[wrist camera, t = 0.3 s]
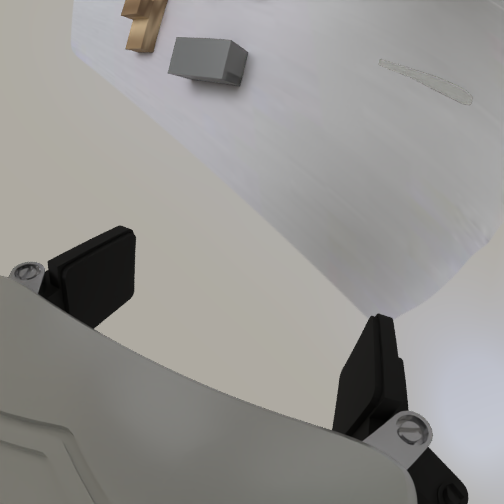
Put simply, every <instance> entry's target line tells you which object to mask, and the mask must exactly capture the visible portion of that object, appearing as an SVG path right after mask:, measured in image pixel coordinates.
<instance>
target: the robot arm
mask: <svg viewBox="0 0 504 504" xmlns="http://www.w3.org/2000/svg"><path fill="white" fill-rule="evenodd" d="M135 245H136V236H135V235H134V233H133V230H131V229H129V228H126V227H123V226H117V227H115V228H113V229H111V230H109V231H107V232H104V233H103V234H100V235H98V236H96V237H94V238H92V239H90V240H88V241H86V242H84V243H82V244H80V245H78V246H76V247H74V248H72V249H71V250H68V251H66V252H64V253H63V254H60V255H59V256H57V257H55V258H53V259H51V260H49V261H48V269H49V270H47V271H46V272H45V268H44V266H43V265H42V264H40V263H37V262H25V263H22V264H19V265H17V266H16V267H15V268H13V270H12V271H11V273H10V275H9V277H4V276H0V504H467V503H468V492H467V489H466V487H465V486H464V484H463V483H462V482H461V481H460V480H459V479H458V478H457V476H456V475H455V474H454V473H453V472H452V471H451V470H450V469H449V468H448V467H447V466H446V465H445V464H444V463H443V462H442V461H441V460H440V459H439V458H438V457H437V456H436V455H435V453H434V452H432V450H431V449H430V448H429V447H428V446H429V445H430V443H431V441H432V437H433V433H432V428H431V427H430V424H429V423H428V421H426V419H425V418H424V417H422V416H421V415H420V414H418V413H415V412H412V411H408V400H407V390H406V380H405V372H404V365H403V360H402V359H401V358H398V351H397V343H396V336H395V330H394V323H393V319H392V318H391V317H387V316H384V315H381V314H377V315H376V316H375V317H374V316H371V317H370V318H369V320H368V322H367V324H366V326H365V328H364V330H363V332H362V334H361V336H360V338H359V340H358V342H357V344H356V345H355V347H354V349H353V351H352V353H351V355H350V357H349V358H348V360H347V362H346V364H345V366H344V367H343V369H342V372H341V374H340V378H339V387H338V394H337V401H336V408H335V415H334V422H333V428H332V430H329V429H326V428H323V427H319V426H316V425H313V424H310V423H307V422H304V421H301V420H298V419H294V418H291V417H288V416H285V415H282V414H279V413H276V412H274V411H271V410H268V409H265V408H262V407H260V406H256V405H254V404H251V403H249V402H246V401H243V400H241V399H238V398H236V397H233V396H230V395H228V394H225V393H223V392H221V391H218V390H216V389H213V388H211V387H208V386H206V385H204V384H201V383H199V382H197V381H195V380H192V379H190V378H188V377H186V376H183V375H181V374H179V373H176V372H175V371H172V370H171V369H168V368H166V367H164V366H162V365H160V364H158V363H156V362H154V361H152V360H150V359H148V358H146V357H144V356H142V355H140V354H138V353H136V352H134V351H132V350H131V349H129V348H127V347H125V346H123V345H121V344H119V343H117V342H116V341H114V340H112V339H110V338H109V337H107V336H105V335H103V334H101V333H100V332H98V331H96V330H94V328H95V327H96V326H98V325H99V324H100V323H101V322H102V321H103V320H105V319H106V318H107V317H109V316H110V315H111V314H112V313H113V312H115V311H116V310H117V309H118V308H119V307H121V306H122V305H123V304H124V303H126V302H127V301H128V300H130V299H131V297H132V296H133V294H134V274H135Z"/></svg>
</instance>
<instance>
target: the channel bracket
mask: <svg viewBox="0 0 504 504" xmlns="http://www.w3.org/2000/svg"><path fill="white" fill-rule="evenodd" d="M247 55H248V52H247V51H246V50H244V49H243V48H242V47H240V46H239V45H237V44H236V43H235V42H233V41H232V40H224V39H210V38H187V37H177V38H176V42H175V46H174V49H173V54H172V58H171V62H170V66H169V70H168V74H172V75H176V76H180V77H184V78H187V79H191V80H200V81H208V82H216V83H223V84H229V85H236V86H240V83H241V79H242V75H243V71H244V67H245V63H246V59H247Z"/></svg>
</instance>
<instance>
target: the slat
mask: <svg viewBox="0 0 504 504" xmlns="http://www.w3.org/2000/svg"><path fill="white" fill-rule="evenodd" d="M167 1H168V0H126V1H125V4H124V7H123V10H122V13H121V16H124V17H127V18H130V19H132V20H133V23H132V26H131V30H130V33H129V37H128V41H127V45H126V49H128V50H132V51H135V52H153V51H154V47H155V43H156V39H157V35H158V32H159V28H160V25H161V21H162V18H163V14H164V11H165V8H166V4H167Z"/></svg>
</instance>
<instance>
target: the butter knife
mask: <svg viewBox="0 0 504 504" xmlns="http://www.w3.org/2000/svg"><path fill="white" fill-rule="evenodd" d="M378 65H380V66H382V67H384V68H387V69H389V70H392V71H395V72H397V73H400V74H402V75H405V76H407V77H410V78H412V79H414V80H416V81H418V82H420V83H422V84H424V85H426V86H428V87H430V88H431V89H433V90H435V91H438V92H440V93H442V94H443V95H445V96H447V97H449V98H451V99H453V100H456V101H458V102H460V103H462V104H465V105H471V103H472V100H473V98H472V96H471V95H470V94H469V93H468V92H467V91H466V90H464V89H462V88H461V87H459V86H457V85H455V84H453V83H450V82H448V81H446V80H443V79H441V78H438V77H436V76H433V75H430V74H427V73H424V72H420V71H417V70H414V69H411V68H408V67H405V66H402V65H399V64H395V63H392V62H389V61H385V60H381V59H380V60H379V64H378Z"/></svg>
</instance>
